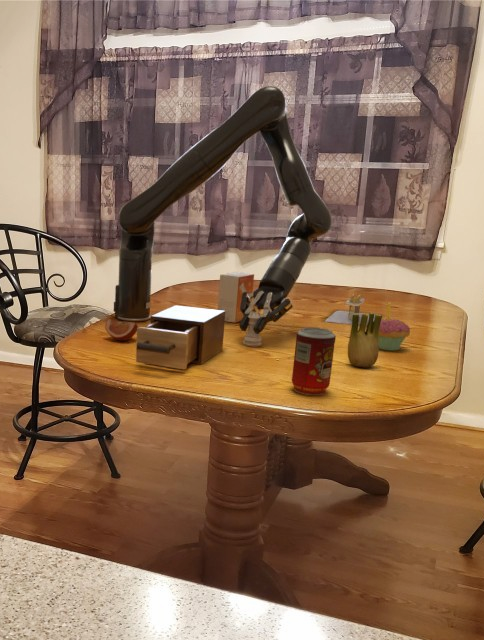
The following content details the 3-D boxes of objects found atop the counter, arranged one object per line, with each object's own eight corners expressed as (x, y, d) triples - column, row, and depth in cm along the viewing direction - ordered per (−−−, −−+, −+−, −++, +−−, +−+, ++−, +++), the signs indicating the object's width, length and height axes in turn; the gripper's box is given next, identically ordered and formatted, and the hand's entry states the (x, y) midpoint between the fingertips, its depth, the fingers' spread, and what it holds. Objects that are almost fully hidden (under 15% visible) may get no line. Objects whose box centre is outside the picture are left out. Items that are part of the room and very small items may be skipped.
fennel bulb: (343, 365, 152) (350, 312, 148) (352, 361, 155) (359, 309, 151) (370, 371, 148) (378, 316, 144) (378, 366, 151) (386, 312, 148)
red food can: (317, 399, 130) (325, 336, 126) (283, 390, 135) (290, 329, 131) (335, 391, 134) (343, 330, 131) (302, 383, 139) (308, 324, 136)
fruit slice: (100, 339, 174) (100, 320, 172) (114, 334, 179) (115, 315, 177) (128, 344, 169) (129, 324, 167) (142, 339, 174) (143, 320, 172)
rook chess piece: (262, 343, 170) (265, 311, 168) (261, 347, 166) (264, 315, 164) (243, 342, 172) (246, 310, 169) (242, 346, 168) (244, 314, 165)
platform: (324, 321, 194) (327, 298, 192) (337, 310, 209) (340, 289, 207) (369, 326, 188) (373, 302, 186) (379, 314, 203) (383, 292, 201)
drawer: (176, 375, 141) (178, 338, 139) (126, 367, 147) (127, 331, 144) (206, 355, 156) (208, 321, 154) (160, 348, 162) (161, 316, 159)
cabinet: (201, 364, 152) (204, 322, 149) (149, 356, 158) (150, 315, 155) (222, 350, 164) (225, 310, 161) (173, 343, 170) (175, 305, 167)
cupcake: (390, 354, 161) (398, 303, 157) (360, 346, 168) (367, 297, 164) (414, 350, 165) (423, 300, 161) (384, 342, 172) (391, 294, 168)
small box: (235, 323, 192) (239, 276, 188) (216, 319, 196) (219, 274, 192) (250, 319, 197) (254, 273, 193) (231, 315, 201) (235, 271, 197)
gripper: (252, 262, 173) (219, 316, 169) (302, 268, 163) (268, 326, 159) (262, 281, 178) (230, 334, 174) (311, 288, 168) (279, 345, 164)
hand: (249, 330), depth 166 cm, fingers closed on rook chess piece, 3 cm apart
